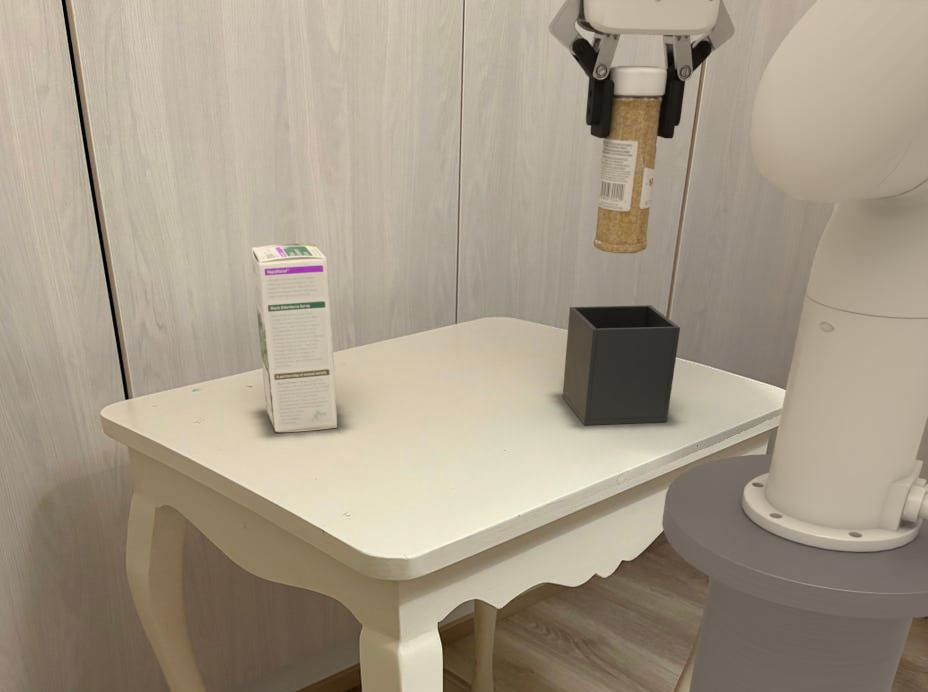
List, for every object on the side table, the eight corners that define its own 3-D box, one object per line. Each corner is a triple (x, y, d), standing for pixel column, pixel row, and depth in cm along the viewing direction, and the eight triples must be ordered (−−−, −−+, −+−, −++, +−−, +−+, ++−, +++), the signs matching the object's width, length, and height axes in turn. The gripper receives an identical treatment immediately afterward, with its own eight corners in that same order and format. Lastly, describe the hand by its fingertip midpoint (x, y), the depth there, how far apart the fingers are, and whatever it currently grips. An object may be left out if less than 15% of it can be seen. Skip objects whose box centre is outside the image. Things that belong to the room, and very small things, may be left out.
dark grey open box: (639, 394, 97) (651, 305, 92) (667, 422, 90) (680, 327, 86) (562, 397, 96) (569, 306, 91) (584, 425, 89) (593, 329, 85)
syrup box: (339, 428, 87) (331, 255, 80) (272, 434, 86) (258, 258, 78) (327, 407, 92) (319, 241, 84) (263, 412, 91) (249, 244, 83)
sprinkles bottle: (657, 252, 83) (680, 67, 76) (612, 256, 82) (631, 67, 74) (625, 242, 87) (644, 64, 80) (581, 245, 85) (597, 64, 78)
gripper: (557, -166, 66) (539, 141, 75) (798, -155, 68) (749, 142, 78) (532, -151, 72) (518, 131, 82) (752, -141, 74) (713, 132, 84)
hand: (631, 133), depth 80 cm, fingers closed on sprinkles bottle, 4 cm apart
